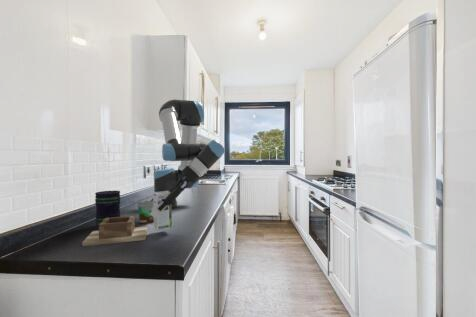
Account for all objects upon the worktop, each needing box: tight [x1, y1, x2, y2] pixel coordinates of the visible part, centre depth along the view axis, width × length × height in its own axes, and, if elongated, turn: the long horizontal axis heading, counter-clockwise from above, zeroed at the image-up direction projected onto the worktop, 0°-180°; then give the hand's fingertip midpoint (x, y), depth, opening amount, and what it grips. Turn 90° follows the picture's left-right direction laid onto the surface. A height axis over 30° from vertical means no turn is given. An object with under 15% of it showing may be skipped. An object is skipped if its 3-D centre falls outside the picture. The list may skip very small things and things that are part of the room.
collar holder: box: [81, 215, 148, 247], centre depth 92 cm, size 13×20×6 cm, turn 107°
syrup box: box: [152, 191, 173, 232], centre depth 96 cm, size 6×6×14 cm
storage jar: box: [94, 190, 122, 230], centre depth 108 cm, size 10×10×15 cm
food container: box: [137, 197, 154, 225], centre depth 114 cm, size 12×6×10 cm, turn 168°
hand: (153, 213), depth 95 cm, fingers closed on syrup box, 7 cm apart
